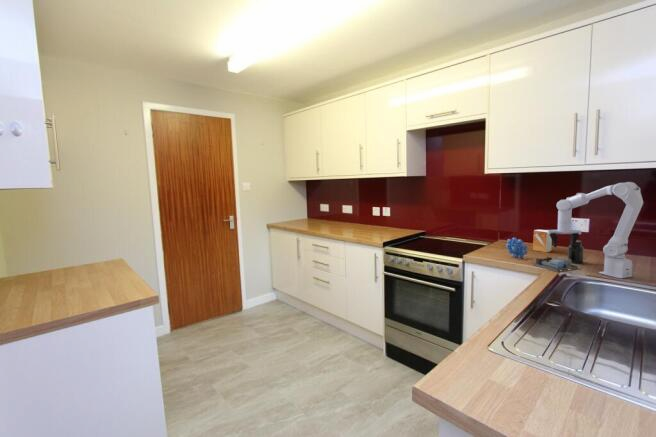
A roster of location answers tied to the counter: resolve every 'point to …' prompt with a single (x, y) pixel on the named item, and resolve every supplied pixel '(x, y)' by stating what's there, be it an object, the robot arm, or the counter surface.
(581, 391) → the counter surface
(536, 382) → the counter surface
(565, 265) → the heatsink base
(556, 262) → the blue-grey rectangular block
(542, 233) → the small box
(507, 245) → the grapes
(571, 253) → the supplement bottle
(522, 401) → the counter surface
